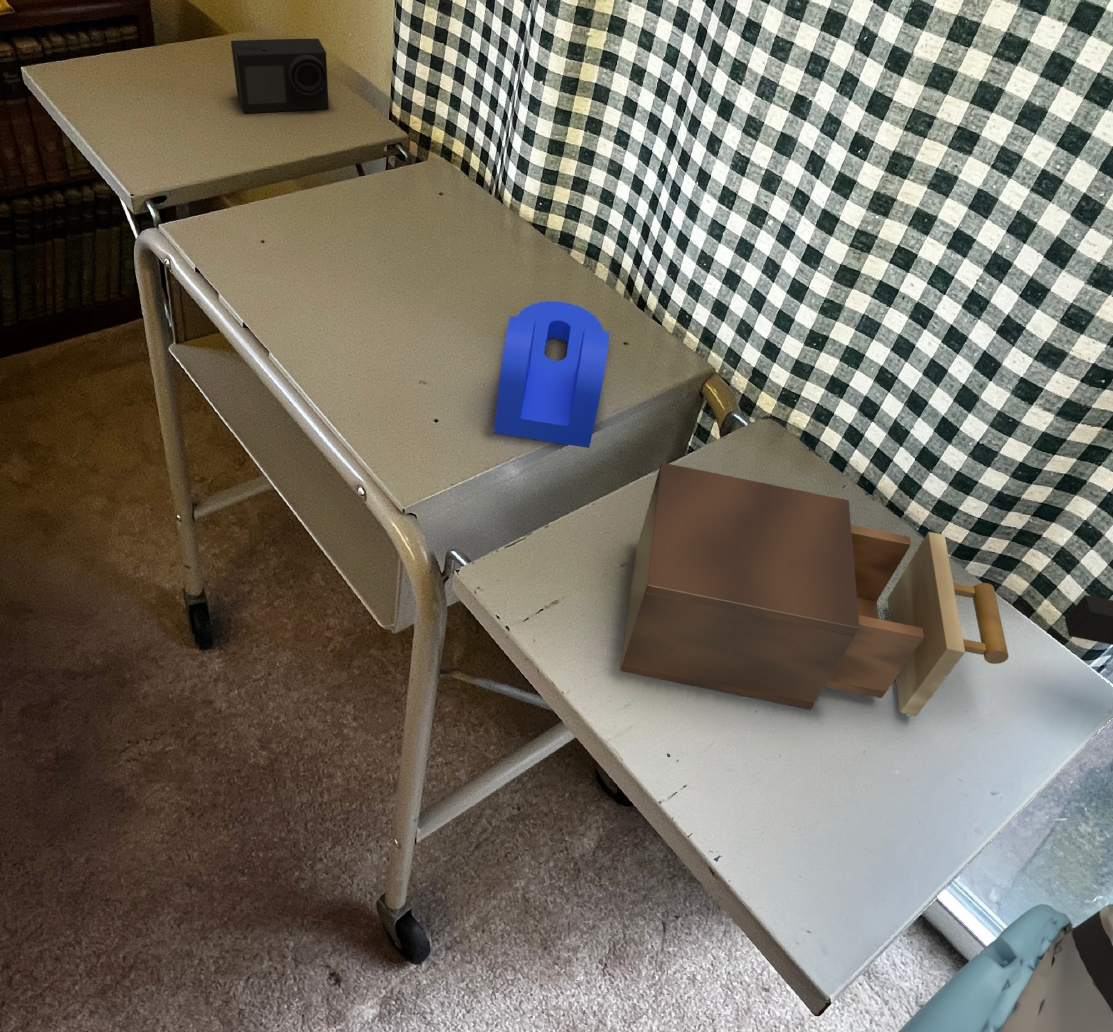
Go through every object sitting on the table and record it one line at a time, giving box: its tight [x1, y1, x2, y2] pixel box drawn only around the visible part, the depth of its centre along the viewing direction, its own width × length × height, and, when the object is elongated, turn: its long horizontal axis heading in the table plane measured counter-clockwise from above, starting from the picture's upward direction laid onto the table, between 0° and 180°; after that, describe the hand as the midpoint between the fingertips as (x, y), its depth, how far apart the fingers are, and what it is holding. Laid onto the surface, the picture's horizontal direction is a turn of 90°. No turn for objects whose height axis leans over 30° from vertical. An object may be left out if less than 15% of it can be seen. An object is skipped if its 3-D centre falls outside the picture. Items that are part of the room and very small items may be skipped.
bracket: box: [493, 300, 610, 449], centre depth 85 cm, size 18×8×9 cm, turn 175°
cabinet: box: [620, 462, 859, 711], centre depth 67 cm, size 14×12×10 cm
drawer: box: [824, 524, 1009, 717], centre depth 67 cm, size 17×10×8 cm, turn 81°
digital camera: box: [230, 38, 330, 114], centre depth 115 cm, size 10×5×7 cm, turn 113°
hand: (1077, 615), depth 64 cm, fingers closed
